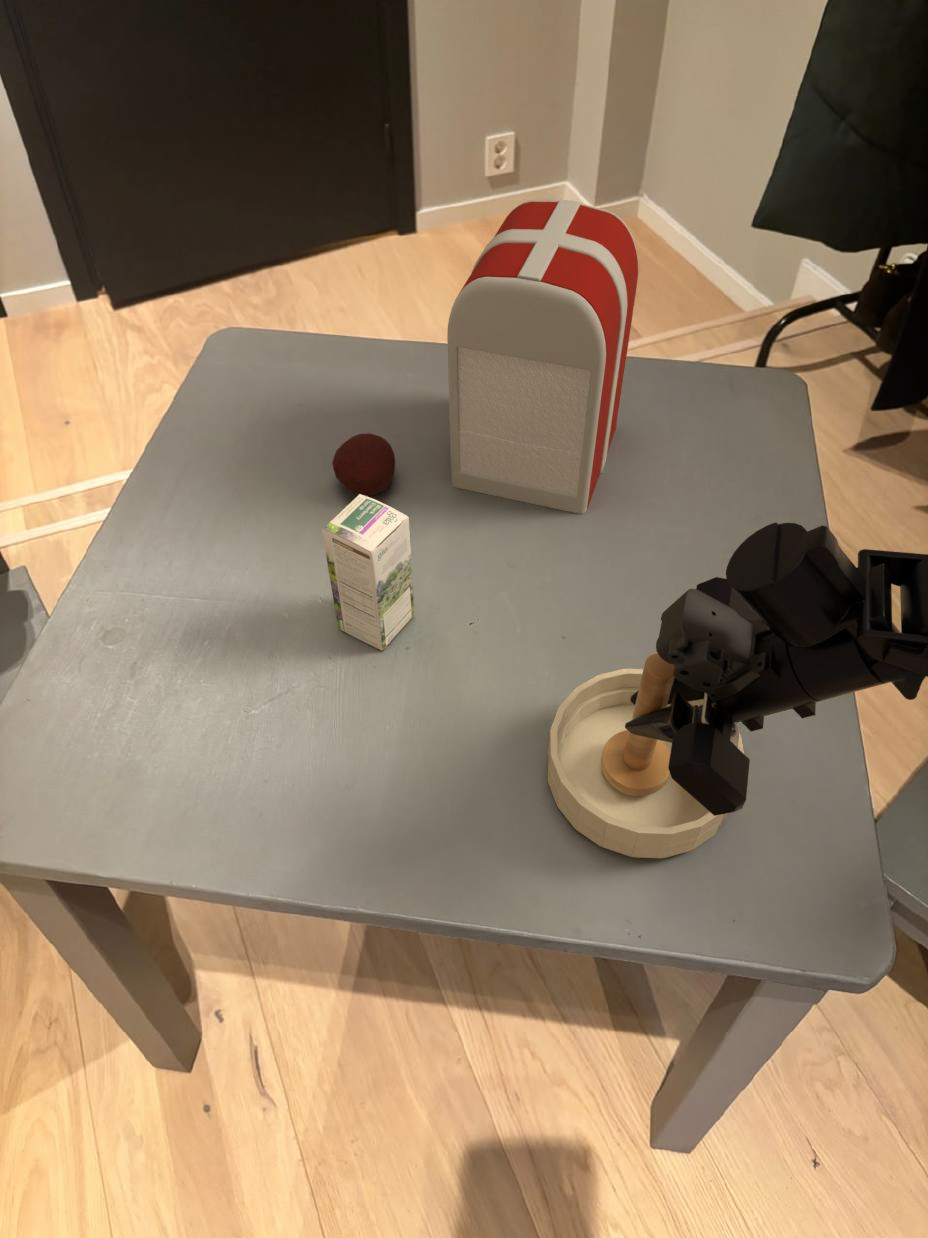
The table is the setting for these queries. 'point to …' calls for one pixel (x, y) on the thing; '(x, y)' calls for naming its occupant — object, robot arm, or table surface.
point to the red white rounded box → (541, 354)
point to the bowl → (592, 801)
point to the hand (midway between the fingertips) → (630, 715)
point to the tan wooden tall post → (641, 738)
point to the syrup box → (370, 570)
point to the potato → (364, 464)
